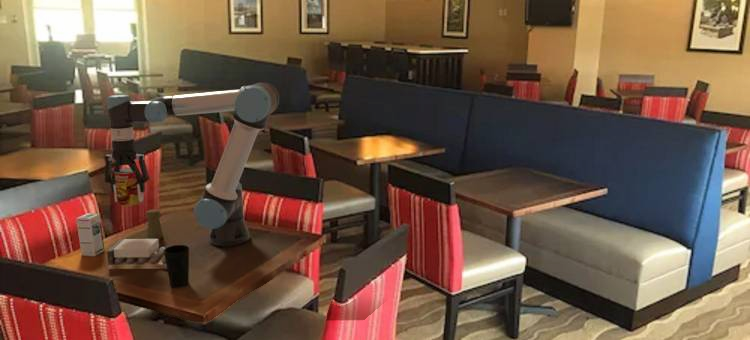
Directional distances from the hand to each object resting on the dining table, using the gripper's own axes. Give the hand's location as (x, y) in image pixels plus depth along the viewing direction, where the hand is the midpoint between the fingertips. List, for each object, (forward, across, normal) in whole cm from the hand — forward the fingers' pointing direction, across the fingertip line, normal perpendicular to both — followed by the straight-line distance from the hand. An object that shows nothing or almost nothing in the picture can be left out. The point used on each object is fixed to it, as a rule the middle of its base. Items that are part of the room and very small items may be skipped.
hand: (129, 200), depth 223 cm
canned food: (+1, 0, 0) cm, 1 cm away
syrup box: (+19, -14, -3) cm, 24 cm away
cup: (+19, +26, -30) cm, 44 cm away
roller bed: (+19, +9, -12) cm, 24 cm away
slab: (+15, +6, -12) cm, 20 cm away
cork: (+19, +2, +14) cm, 24 cm away
